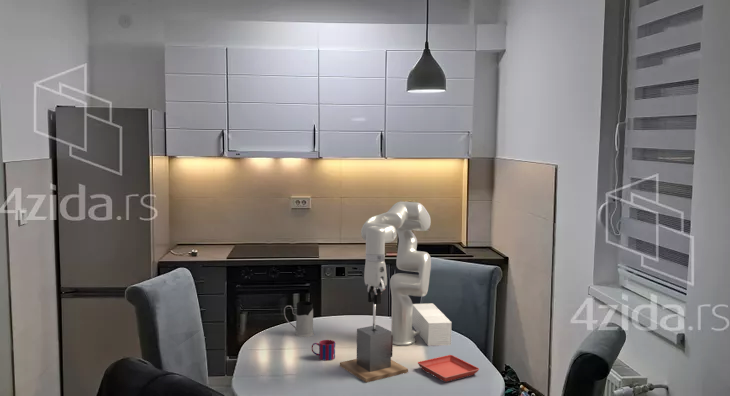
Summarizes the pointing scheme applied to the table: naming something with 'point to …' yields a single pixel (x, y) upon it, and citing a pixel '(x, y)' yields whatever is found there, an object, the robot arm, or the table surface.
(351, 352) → the table surface
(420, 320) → the white rectangular block
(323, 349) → the mug
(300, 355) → the table surface
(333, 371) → the table surface
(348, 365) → the board
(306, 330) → the grey and black pitcher
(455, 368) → the plant saucer
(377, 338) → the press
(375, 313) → the plunger
